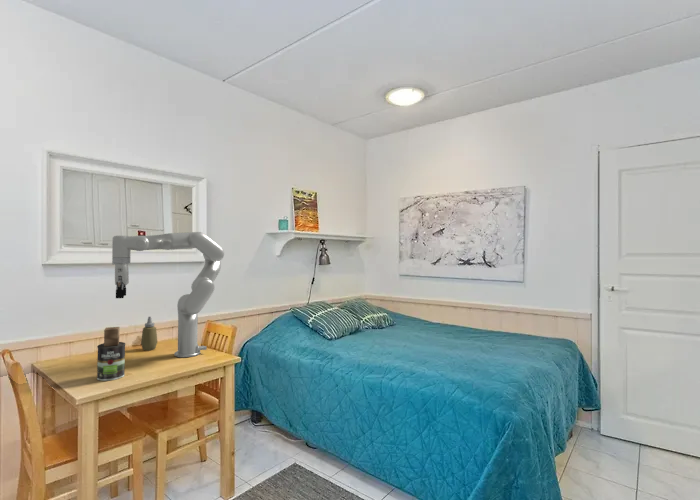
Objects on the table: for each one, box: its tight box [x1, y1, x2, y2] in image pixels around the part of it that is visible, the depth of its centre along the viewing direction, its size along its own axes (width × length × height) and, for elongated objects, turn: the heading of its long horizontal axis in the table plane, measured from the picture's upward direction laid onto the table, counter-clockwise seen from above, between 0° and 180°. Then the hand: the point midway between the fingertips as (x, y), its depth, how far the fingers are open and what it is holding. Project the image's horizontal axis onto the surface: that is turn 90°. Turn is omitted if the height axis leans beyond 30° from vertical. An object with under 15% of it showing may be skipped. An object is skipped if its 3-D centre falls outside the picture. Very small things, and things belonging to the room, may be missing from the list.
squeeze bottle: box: [140, 316, 158, 352], centre depth 211 cm, size 8×8×18 cm
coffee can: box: [96, 341, 126, 382], centre depth 166 cm, size 10×10×14 cm
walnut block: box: [103, 326, 120, 346], centre depth 166 cm, size 5×5×7 cm
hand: (121, 296), depth 184 cm, fingers open, 9 cm apart
